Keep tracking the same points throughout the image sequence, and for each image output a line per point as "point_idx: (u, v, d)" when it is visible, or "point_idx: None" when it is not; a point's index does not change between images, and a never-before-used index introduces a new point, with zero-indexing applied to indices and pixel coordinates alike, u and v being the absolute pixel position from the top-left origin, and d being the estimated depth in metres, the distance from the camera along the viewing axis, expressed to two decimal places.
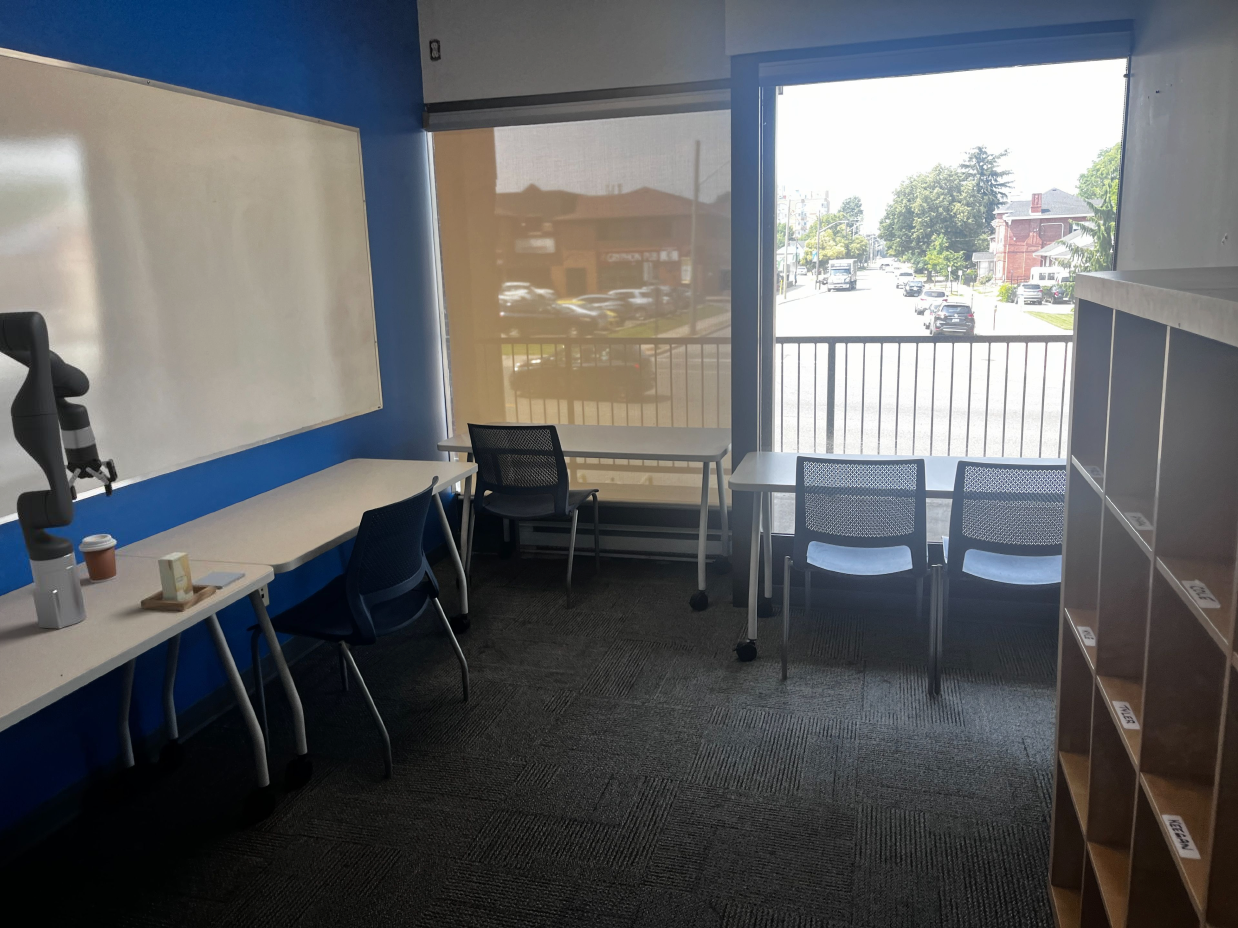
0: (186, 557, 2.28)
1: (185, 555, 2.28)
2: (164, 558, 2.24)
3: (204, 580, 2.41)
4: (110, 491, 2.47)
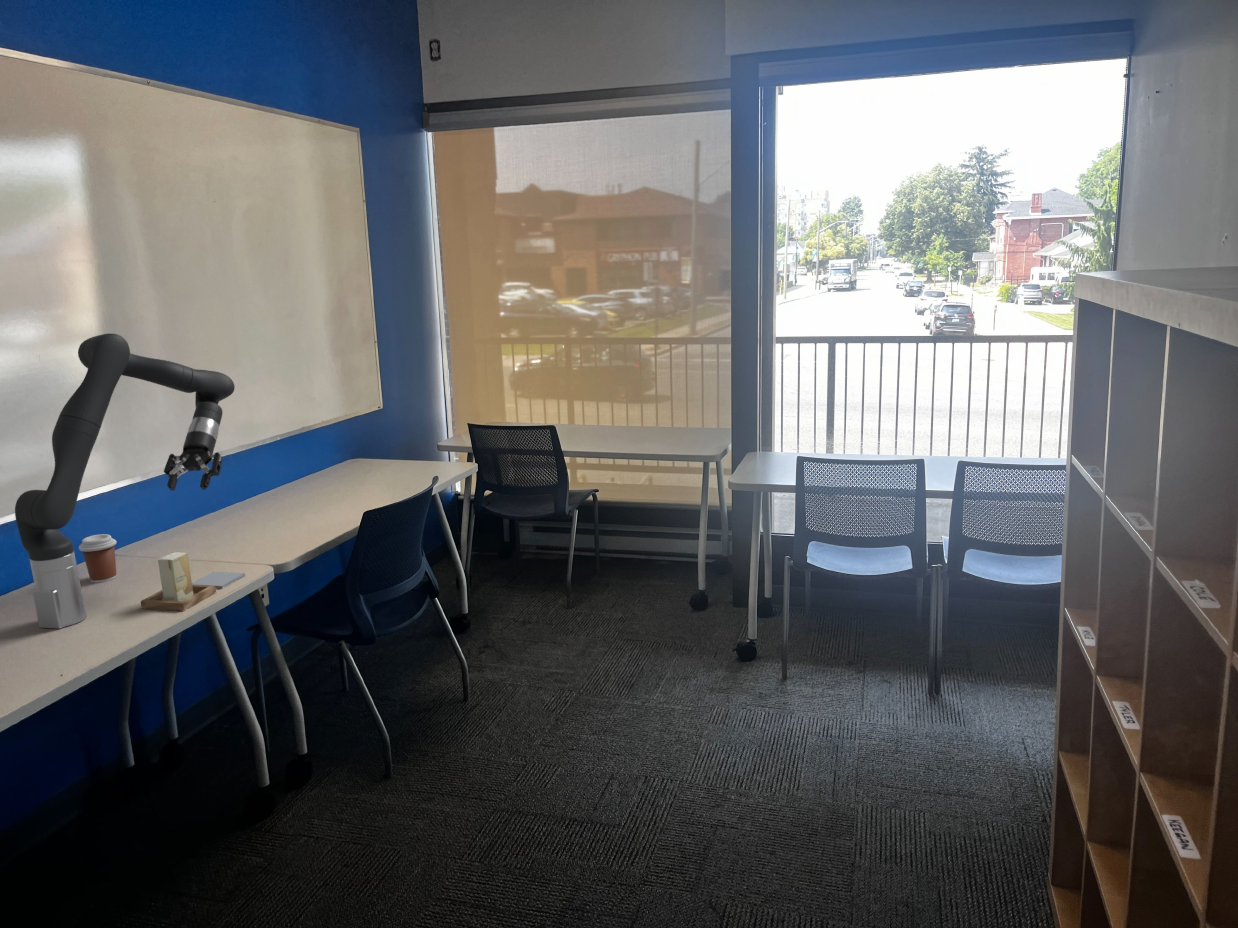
0: (185, 557, 2.28)
1: (185, 555, 2.28)
2: (164, 558, 2.24)
3: (204, 580, 2.41)
4: (205, 481, 2.34)
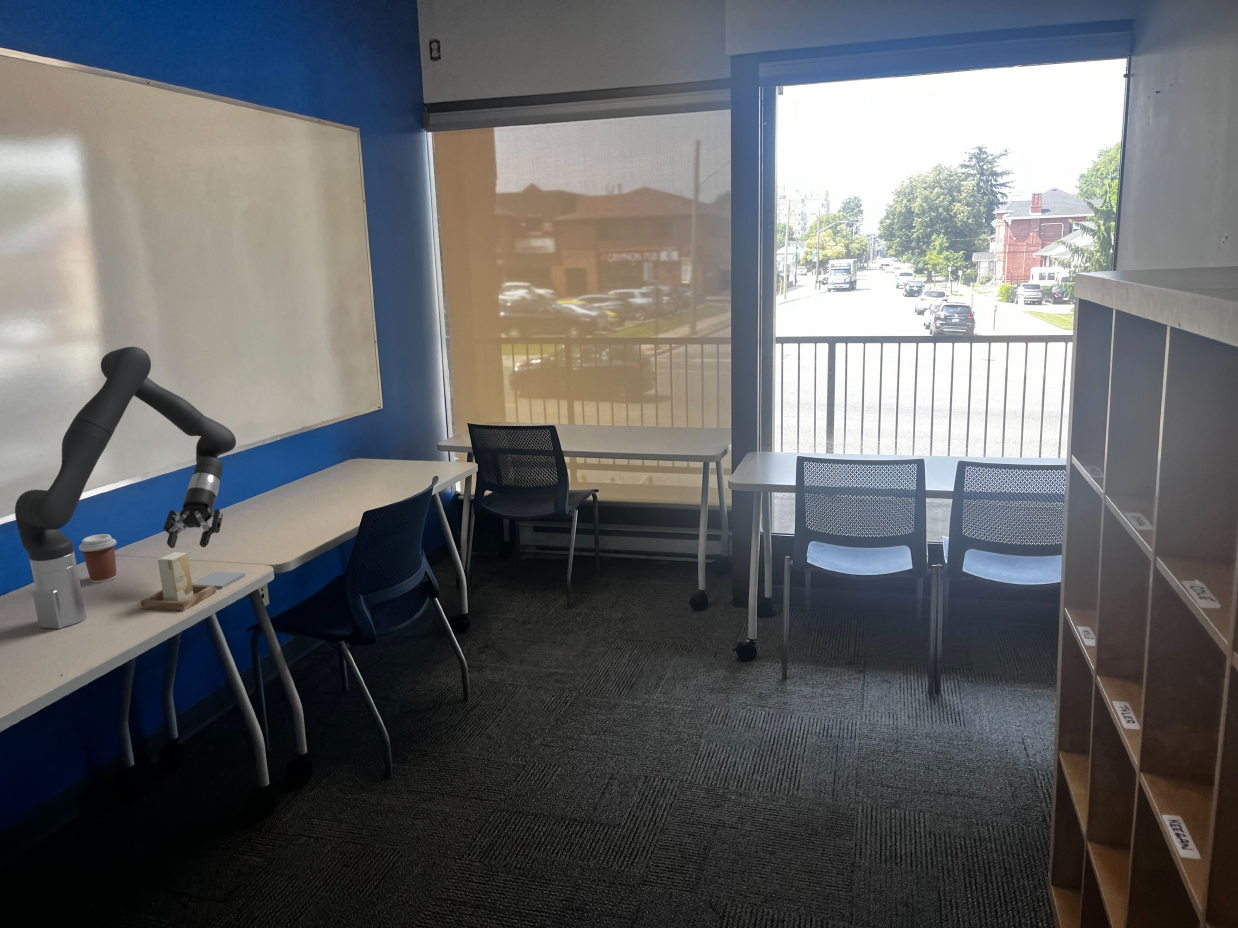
0: (186, 557, 2.28)
1: (185, 555, 2.28)
2: (164, 558, 2.24)
3: (204, 580, 2.41)
4: (205, 539, 2.33)
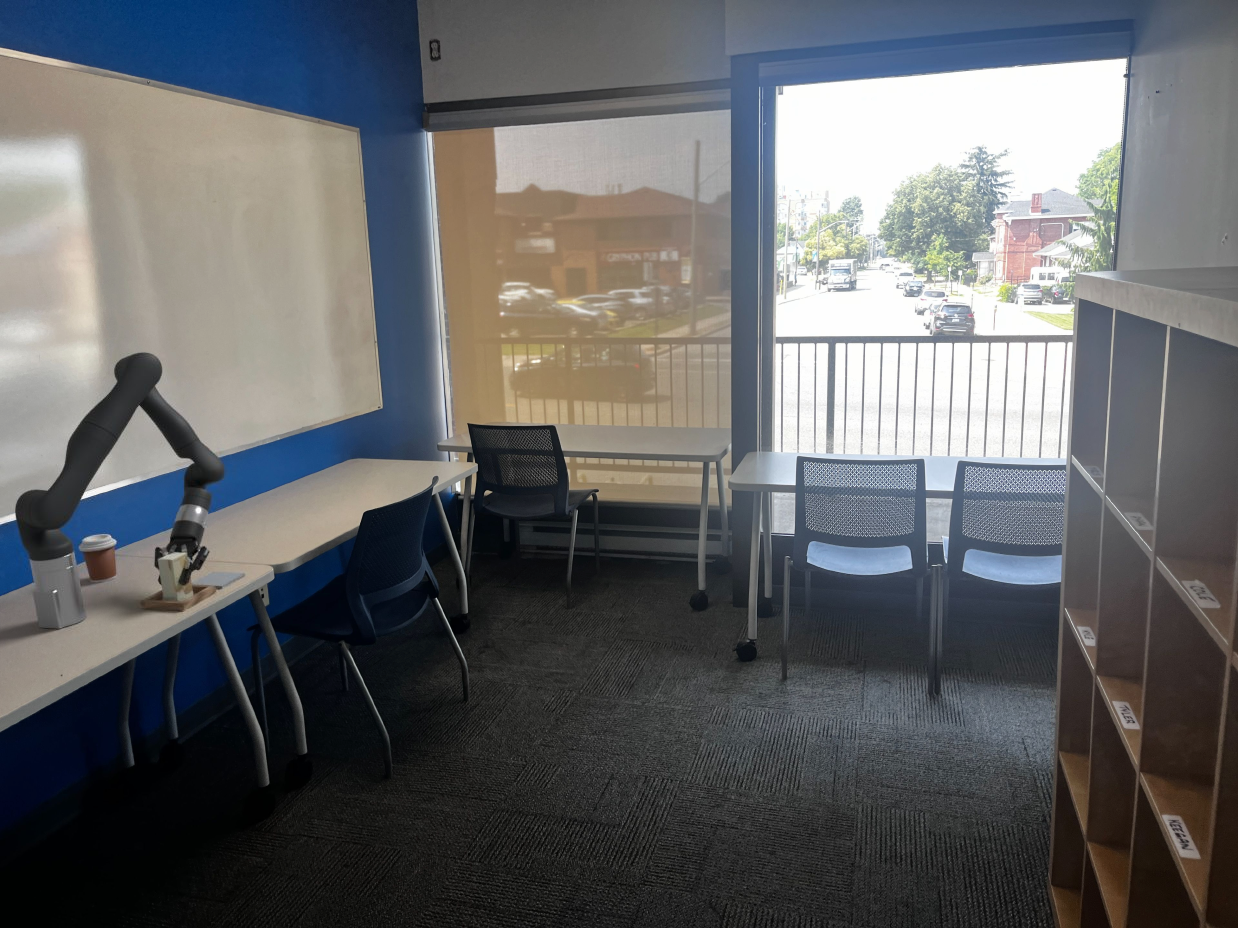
0: None
1: (185, 555, 2.28)
2: (164, 558, 2.24)
3: (204, 580, 2.41)
4: (186, 577, 2.26)
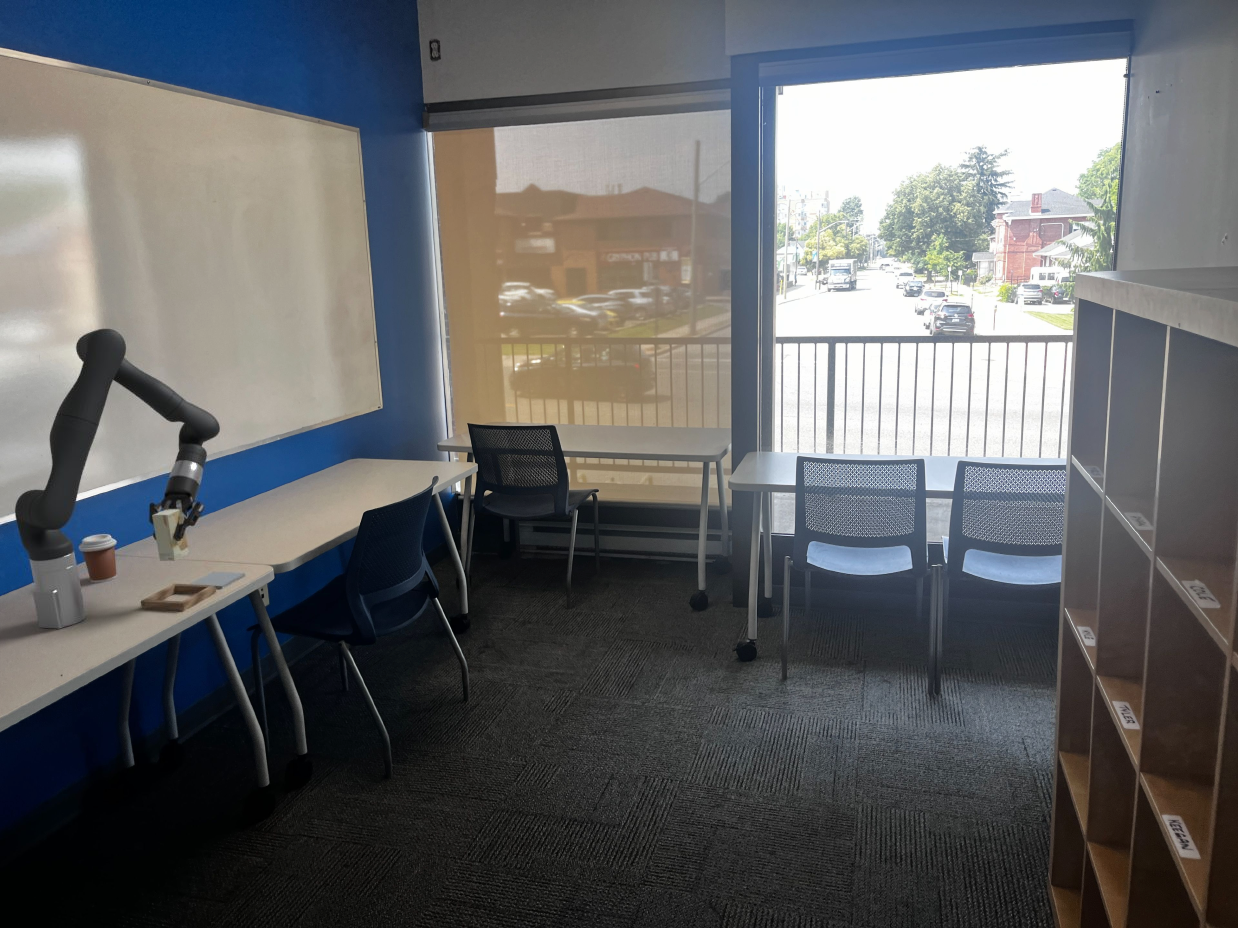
0: None
1: (179, 511, 2.26)
2: (158, 514, 2.22)
3: (204, 580, 2.41)
4: (180, 533, 2.24)
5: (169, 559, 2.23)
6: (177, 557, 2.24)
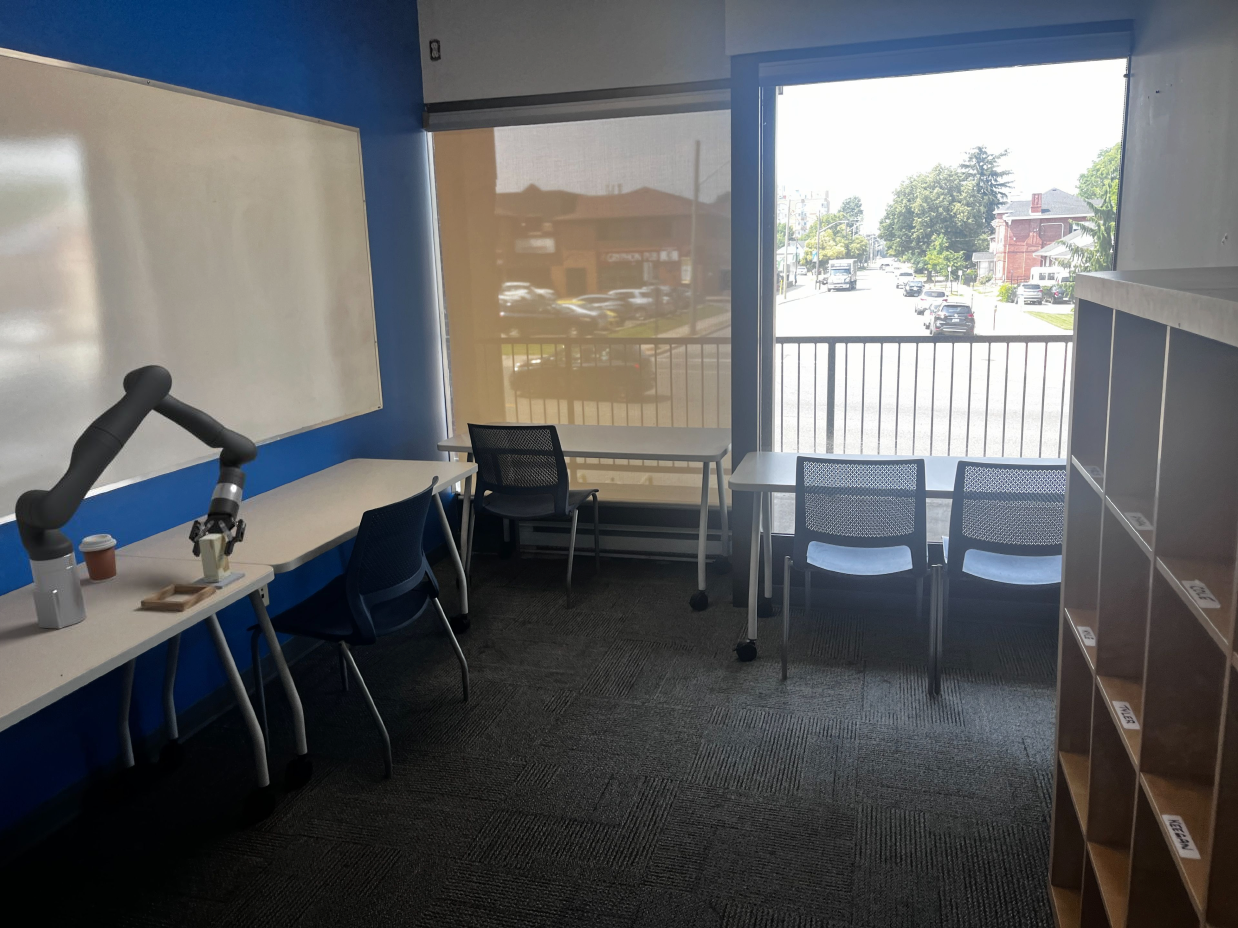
0: (223, 537, 2.41)
1: (223, 535, 2.41)
2: (205, 538, 2.37)
3: (204, 580, 2.41)
4: (229, 548, 2.39)
5: (214, 580, 2.39)
6: (221, 578, 2.40)
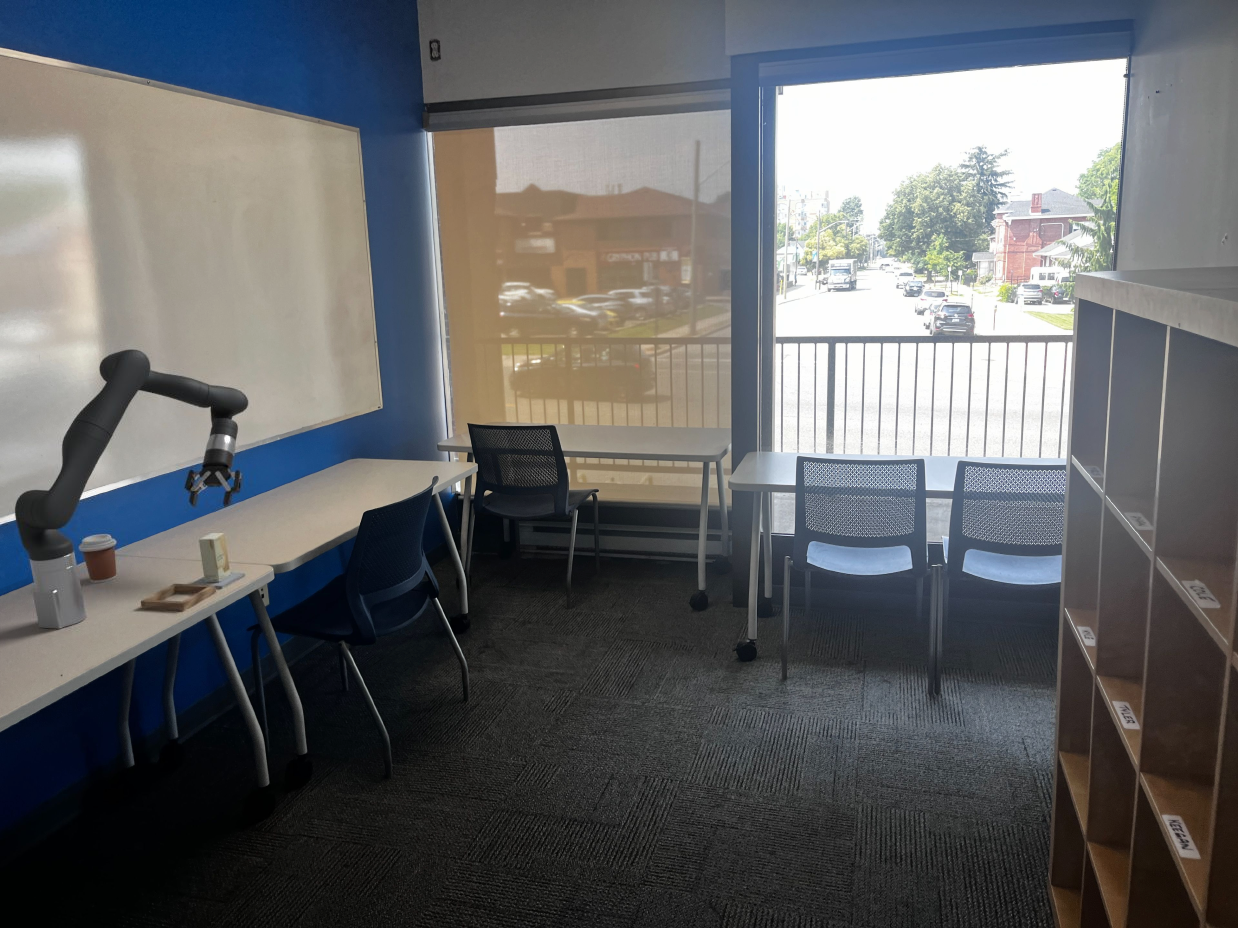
0: (223, 537, 2.41)
1: (223, 535, 2.41)
2: (205, 538, 2.37)
3: (204, 580, 2.41)
4: (228, 499, 2.43)
5: (214, 580, 2.39)
6: (221, 578, 2.40)
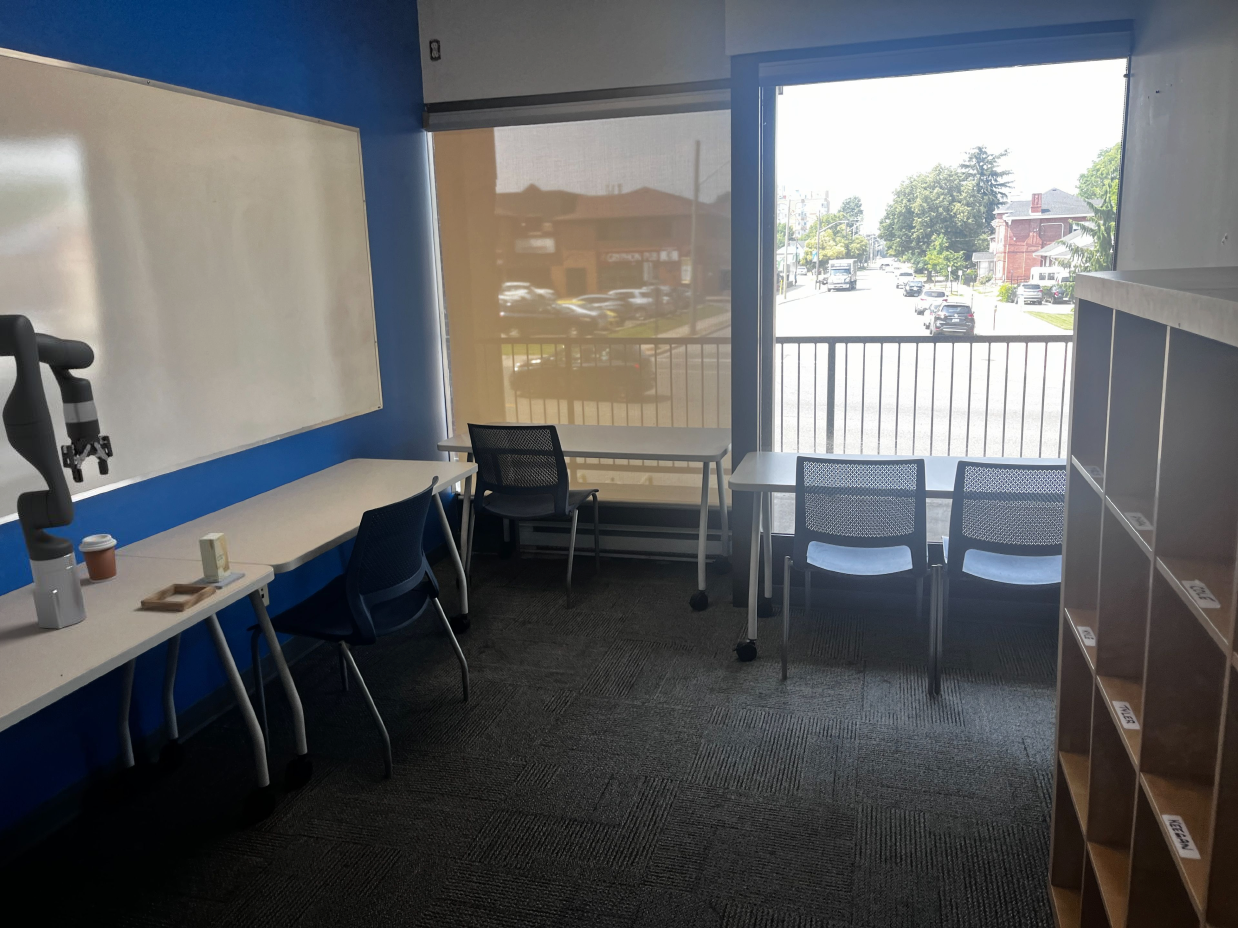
0: (223, 537, 2.41)
1: (223, 535, 2.41)
2: (205, 538, 2.37)
3: (204, 580, 2.41)
4: (107, 468, 2.40)
5: (214, 580, 2.39)
6: (221, 578, 2.40)
